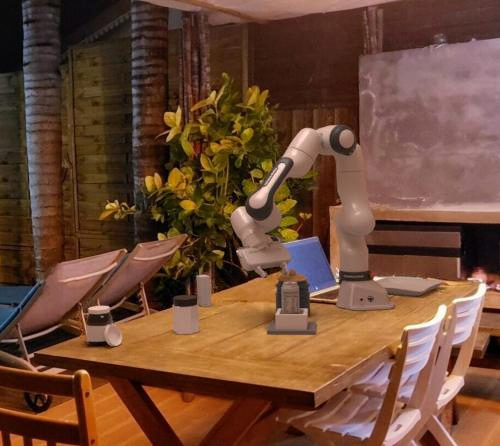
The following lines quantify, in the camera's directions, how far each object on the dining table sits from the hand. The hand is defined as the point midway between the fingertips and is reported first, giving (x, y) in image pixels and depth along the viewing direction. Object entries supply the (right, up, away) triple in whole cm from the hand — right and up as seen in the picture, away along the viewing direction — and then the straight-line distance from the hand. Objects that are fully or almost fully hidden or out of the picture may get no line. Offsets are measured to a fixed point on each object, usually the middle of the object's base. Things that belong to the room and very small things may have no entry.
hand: (275, 275), depth 248 cm
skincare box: (-28, -15, +39) cm, 50 cm away
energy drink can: (+5, -17, -5) cm, 18 cm away
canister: (+7, -16, +16) cm, 24 cm away
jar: (-31, -19, -4) cm, 37 cm away
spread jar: (-56, -21, -18) cm, 62 cm away
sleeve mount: (+5, -18, -5) cm, 20 cm away
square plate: (+58, -12, +62) cm, 86 cm away
